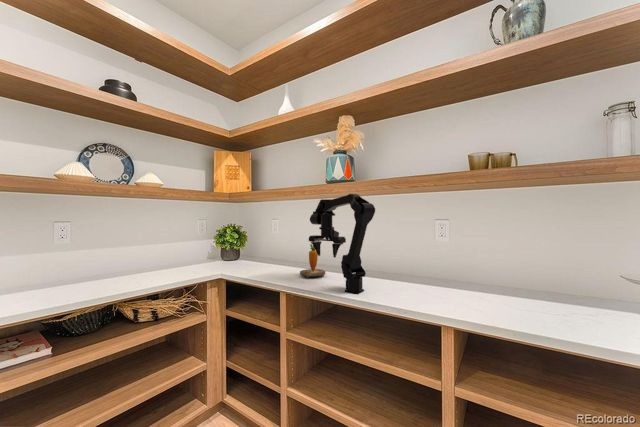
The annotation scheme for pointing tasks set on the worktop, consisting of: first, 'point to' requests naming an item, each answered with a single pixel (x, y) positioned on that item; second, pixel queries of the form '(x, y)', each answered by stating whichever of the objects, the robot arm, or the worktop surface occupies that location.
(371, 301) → the worktop surface
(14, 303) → the worktop surface
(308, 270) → the walnut base
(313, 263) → the carrot
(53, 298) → the worktop surface
